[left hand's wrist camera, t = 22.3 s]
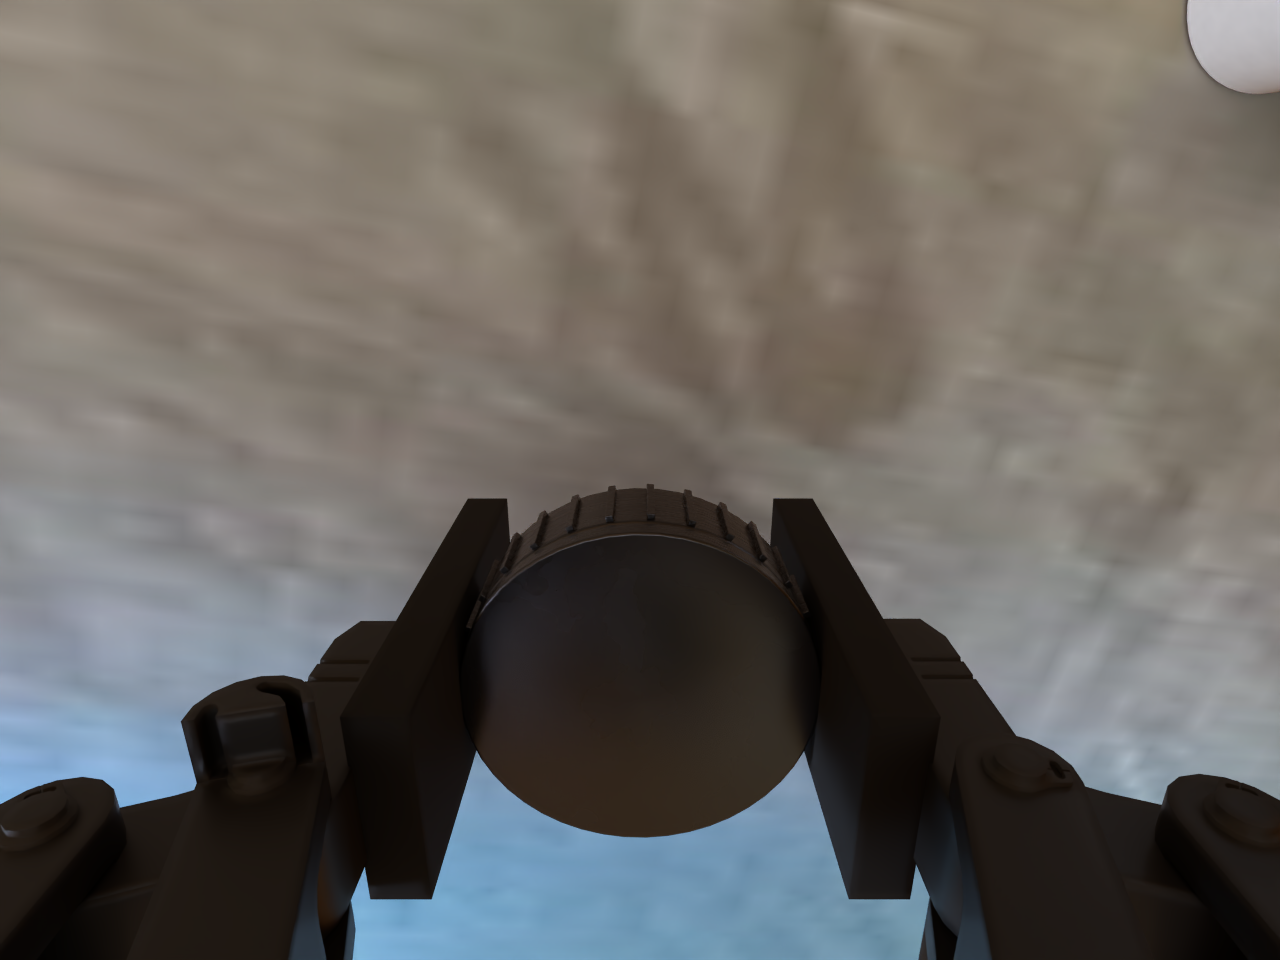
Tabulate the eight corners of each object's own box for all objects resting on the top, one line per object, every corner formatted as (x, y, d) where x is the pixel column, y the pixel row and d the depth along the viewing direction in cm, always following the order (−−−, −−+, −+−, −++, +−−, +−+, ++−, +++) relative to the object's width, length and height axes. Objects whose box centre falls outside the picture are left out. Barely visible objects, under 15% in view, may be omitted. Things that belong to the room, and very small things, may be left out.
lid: (565, 420, 11) (552, 458, 9) (868, 574, 12) (903, 631, 10) (426, 689, 13) (395, 760, 11) (701, 807, 13) (709, 888, 12)
